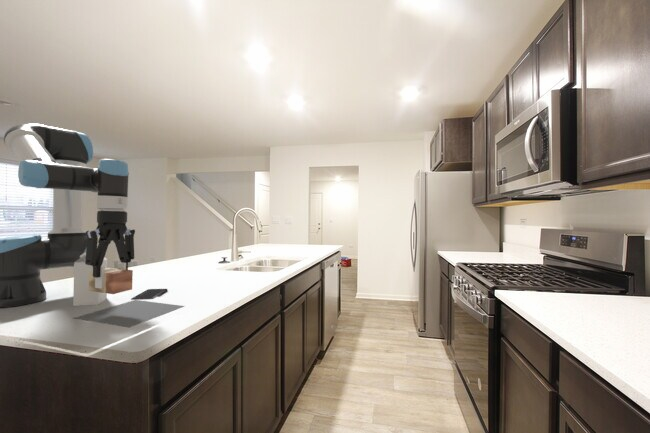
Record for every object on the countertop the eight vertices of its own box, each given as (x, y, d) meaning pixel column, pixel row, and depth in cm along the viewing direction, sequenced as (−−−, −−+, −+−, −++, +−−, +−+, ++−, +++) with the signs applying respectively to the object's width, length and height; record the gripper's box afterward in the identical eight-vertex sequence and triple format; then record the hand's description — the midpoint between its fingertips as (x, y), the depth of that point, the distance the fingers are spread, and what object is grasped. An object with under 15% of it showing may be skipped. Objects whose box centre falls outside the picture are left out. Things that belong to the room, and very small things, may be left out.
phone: (168, 288, 120) (152, 298, 105) (168, 291, 120) (152, 301, 105) (147, 289, 119) (129, 299, 104) (147, 291, 119) (129, 302, 104)
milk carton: (106, 300, 105) (107, 248, 105) (98, 305, 99) (99, 250, 99) (83, 301, 103) (84, 248, 103) (72, 307, 96) (74, 250, 96)
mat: (72, 320, 85) (72, 318, 85) (135, 301, 104) (135, 299, 104) (129, 329, 78) (129, 327, 78) (184, 307, 98) (184, 306, 98)
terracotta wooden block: (88, 290, 87) (89, 271, 87) (108, 286, 93) (109, 267, 93) (113, 294, 84) (113, 273, 84) (132, 289, 90) (132, 270, 90)
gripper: (88, 209, 79) (86, 294, 79) (149, 211, 97) (147, 280, 97) (69, 209, 81) (67, 291, 81) (132, 210, 99) (130, 278, 99)
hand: (110, 285), depth 89 cm, fingers closed on terracotta wooden block, 6 cm apart
